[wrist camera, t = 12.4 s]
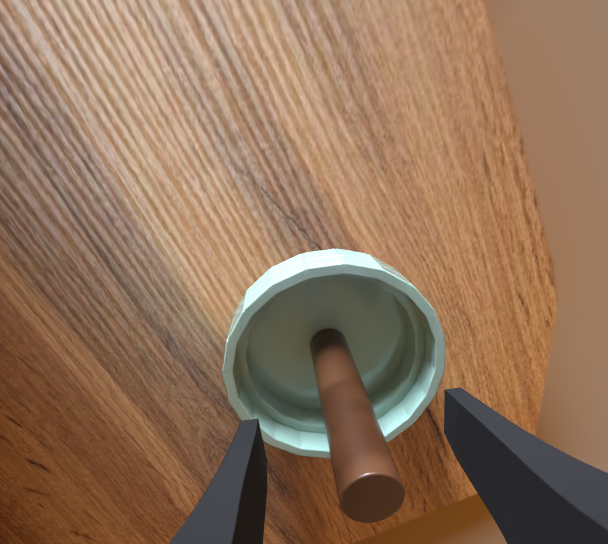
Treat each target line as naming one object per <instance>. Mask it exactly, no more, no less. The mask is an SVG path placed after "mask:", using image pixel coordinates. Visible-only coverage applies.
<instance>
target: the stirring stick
mask: <svg viewBox="0 0 608 544" xmlns="http://www.w3.org/2000/svg"><path fill="white" fill-rule="evenodd" d="M310 351H311V356H312V361H313V366H314V372H315V377H316V382H317V387H318V393H319V398H320V403H321V409H322V414H323V419H324V424H325V430H326V435H327V440H328V445H329V451H330V456H331V461H332V467H333V472H334V477H335V482H336V488H337V493H338V498H339V503H340V507H341V509H342V511H343V513H344V514H345V515H346V516H347V517H349V518H350V519H352V520H354V521H357V522H362V523H372V522H377V521H381V520H384V519H386V518H388V517H390V516H391V515H393V514H394V513H395V512H396V511H397V510H398V509H399V508H400V507H401V505H402V504H403V501H404V498H405V489H404V486H403V483H402V481H401V478H400V476H399V473H398V470H397V468H396V465H395V463H394V460H393V458H392V455H391V453H390V450H389V448H388V445H387V443H386V440H385V437H384V435H383V432H382V430H381V427H380V425H379V422H378V420H377V417H376V415H375V412H374V409H373V407H372V404H371V402H370V399H369V397H368V394H367V392H366V389H365V387H364V384H363V382H362V379H361V376H360V374H359V371H358V369H357V366H356V364H355V361H354V359H353V356H352V354H351V351H350V348H349V346H348V343H347V341H346V338H345V336H344V335H343V334H342V333H341V332H340V331H338V330H336V329H332V328H326V329H322V330H320V331H318V332H317V333H316V334H315V335H314V336H313V337H312V339H311V342H310Z"/></svg>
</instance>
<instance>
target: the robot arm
mask: <svg viewBox="0 0 608 544" xmlns="http://www.w3.org/2000/svg"><path fill="white" fill-rule="evenodd" d="M444 433H445V435H446V437H447V440H448V442H449V444H450V446H451V448H452V450H453V452H454V454H455V456H456V459H457V460H458V462H459V463H460V465H461V467H462V468H463V470H464V472H465V473H466V475H467V477H468V478H469V480H470V481H471V483H472V485H473V486H474V488H475V489H476V491H477V493H478V494H479V496H480V497H481V499H482V501H483V502H484V504H485V505H486V507H487V509H488V510H489V512H490V513H491V515H492V516H493V518H494V520H495V522H496V523H497V525H498V527H499V529H500V530H501V532H502V534H503V536H504V538H505V540H506V542H507V544H608V473H606V472H604V471H601V470H599V469H597V468H595V467H593V466H590V465H588V464H586V463H584V462H582V461H580V460H577V459H576V458H574V457H571V456H570V455H568V454H566V453H564V452H562V451H560V450H558V449H556V448H554V447H553V446H551V445H549V444H547V443H545V442H544V441H542V440H540V439H538V438H537V437H535V436H533V435H532V434H530V433H528V432H527V431H525V430H523V429H522V428H520V427H519V426H517V425H515V424H514V423H512V422H511V421H509V420H508V419H506V418H505V417H503V416H501V415H500V414H498V413H497V412H495V411H494V410H493V409H491V408H490V407H488V406H487V405H485V404H484V403H482V402H481V401H479V400H478V399H477V398H475V397H474V396H472V395H471V394H469V393H468V392H466V391H465V390H463V389H462V388H454V389H447V390H445V408H444ZM266 498H267V459H266V454H265V449H264V444H263V439H262V434H261V429H260V424H259V419H258V418H257V419H250V420H244V421H242V422H241V423H240V425H239V427H238V430H237V432H236V434H235V437H234V439H233V441H232V443H231V445H230V447H229V450H228V452H227V454H226V455H225V457H224V459H223V461H222V463H221V465H220V467H219V469H218V471H217V473H216V474H215V476H214V478H213V479H212V481H211V483H210V485H209V486H208V488H207V490H206V491H205V493H204V495H203V496H202V498H201V499H200V501H199V502H198V504H197V505H196V507H195V508H194V510H193V511H192V513H191V514H190V516H189V517H188V519H187V520H186V521H185V523H184V524H183V525H182V527H181V528H180V529H179V531H178V532H177V533H176V535H175V536H174V537H173V539H172V540H171V541H170V542H169V544H263V533H264V522H265V510H266Z"/></svg>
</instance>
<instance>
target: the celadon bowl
mask: <svg viewBox="0 0 608 544" xmlns="http://www.w3.org/2000/svg"><path fill="white" fill-rule="evenodd" d="M326 328H332V329H336V330H338V331H340V332H341V333H342V334H343V335H344V336H345V338H346V341H347V343H348V346H349V348H350V351H351V354H352V356H353V359H354V361H355V364H356V366H357V369H358V371H359V374H360V376H361V379H362V382H363V384H364V387H365V389H366V392H367V394H368V397H369V399H370V402H371V404H372V407H373V409H374V412H375V415H376V417H377V420H378V422H379V425H380V427H381V430H382V432H383V435H384V437H385V440H386V443H387V442H389V441H390V440H392V439H394V438H395V437H396V436H398V435H399V434H400V433H402V432H403V431H404V430H406V429H407V428H408V427H409V426H411V425H412V424H413V423H415V421H417V419H418V418H419V417H420V415H421V414H422V413H423V411H424V410H425V409H426V408H427V406H428V405H429V404H430V402H431V401H432V400H433V398H434V397H435V394H436V392H437V389H438V386H439V383H440V381H441V378H442V375H443V373H444V369H445V337H444V334H443V331H442V328H441V326H440V323H439V320H438V317H437V315H436V312H435V310H434V308H433V307H432V306H431V305H430V304H429V303H428V302H427V300H426V299H425V298H424V297H423V296H422V295H421V294H420V292H419V291H418V290H417V289H416V288H415V287H414V286H413V285H412V284H411V283H410V282H409V281H408V280H407V279H406V278H404V277H403V276H402V275H401V274H400V273H399V272H398V271H397V270H396V269H395V268H393V267H391V266H389V265H387V264H386V263H384V262H382V261H380V260H378V259H376V258H375V257H373V256H371V255H368V254H365V253H360V252H354V251H348V250H343V249H329V250H322V251H314V252H307V253H303V254H299V255H297V256H295V257H293V258H291V259H288V260H286V261H284V262H282V263H280V264H278V265H276V266H273V267H272V268H270V269H269V270H268V271H267V272H266V273H265V274H264V275H263V276H262V277H260V278H259V279H258V280H257V281H256V282H255V283H254V284H253V285H252V286H251V287H250V288H249V289H248V290H247V291H246V293H245V295H244V297H243V298H242V300H241V302H240V304H239V306H238V308H237V310H236V311H235V313H234V315H233V318H232V321H231V325H230V329H229V333H228V337H227V341H226V348H225V355H224V362H223V369H222V374H223V378H224V383H225V387H226V392H227V396H228V400H229V403H230V404H231V406H232V407H233V409H234V410H235V412H236V413H237V415H238V416H239V418H240V419H241V421H244V420H250V419H257V418H258V419H259V424H260V429H261V434H262V439H263V441H265V442H266V443H267V444H269V445H271V446H273V447H276V448H279V449H282V450H284V451H287V452H290V453H292V454H295V455H299V456H307V457H319V458H331V456H330V451H329V445H328V440H327V435H326V430H325V424H324V419H323V414H322V409H321V403H320V398H319V393H318V387H317V382H316V377H315V372H314V366H313V361H312V356H311V351H310V342H311V339H312V337H313V336H314V335H315V334H316V333H317V332H318V331H320V330H322V329H326Z"/></svg>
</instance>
